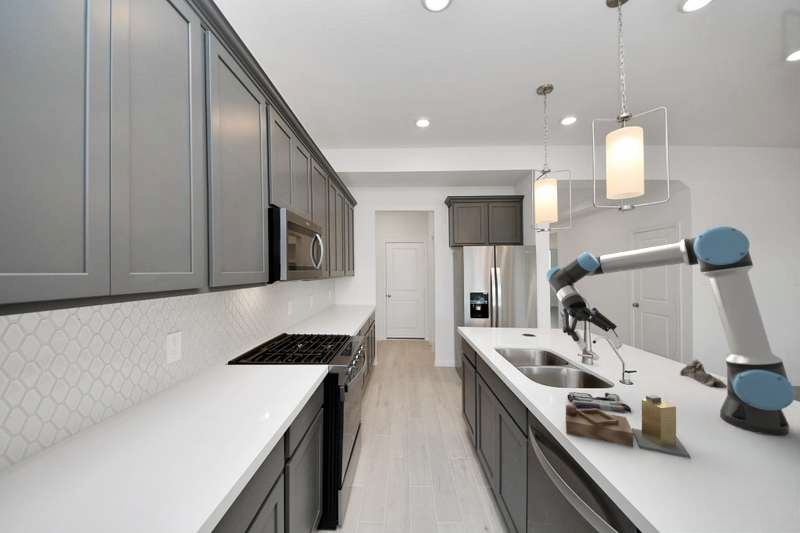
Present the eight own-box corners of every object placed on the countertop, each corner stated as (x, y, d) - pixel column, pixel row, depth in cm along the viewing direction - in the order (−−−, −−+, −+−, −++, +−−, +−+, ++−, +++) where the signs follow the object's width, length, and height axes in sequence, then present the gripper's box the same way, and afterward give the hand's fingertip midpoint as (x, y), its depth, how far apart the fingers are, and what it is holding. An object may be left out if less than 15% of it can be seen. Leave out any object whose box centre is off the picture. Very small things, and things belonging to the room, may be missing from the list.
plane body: (625, 429, 102) (625, 408, 102) (633, 447, 91) (633, 424, 91) (565, 418, 109) (565, 399, 109) (566, 433, 99) (566, 412, 99)
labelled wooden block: (656, 434, 97) (655, 394, 97) (676, 445, 91) (675, 402, 91) (641, 436, 96) (641, 395, 96) (661, 447, 90) (660, 403, 90)
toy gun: (616, 399, 127) (636, 416, 112) (562, 393, 131) (575, 410, 116) (616, 392, 127) (636, 408, 112) (562, 387, 131) (575, 402, 116)
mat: (676, 438, 96) (676, 436, 96) (690, 458, 86) (690, 455, 86) (631, 430, 101) (631, 428, 101) (639, 448, 91) (639, 445, 91)
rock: (675, 372, 156) (685, 353, 154) (699, 381, 154) (709, 363, 152) (699, 387, 139) (710, 367, 137) (726, 398, 136) (738, 378, 135)
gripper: (594, 305, 129) (627, 351, 114) (538, 307, 125) (564, 355, 110) (605, 293, 124) (640, 340, 109) (546, 294, 120) (574, 343, 105)
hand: (602, 348), depth 110 cm, fingers open, 13 cm apart
